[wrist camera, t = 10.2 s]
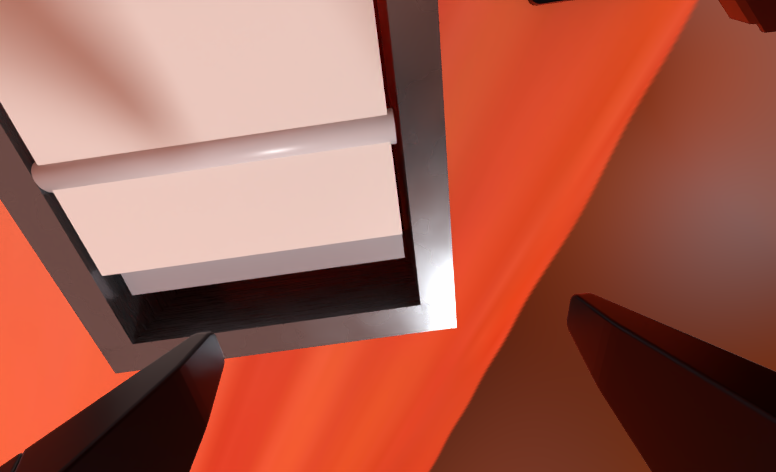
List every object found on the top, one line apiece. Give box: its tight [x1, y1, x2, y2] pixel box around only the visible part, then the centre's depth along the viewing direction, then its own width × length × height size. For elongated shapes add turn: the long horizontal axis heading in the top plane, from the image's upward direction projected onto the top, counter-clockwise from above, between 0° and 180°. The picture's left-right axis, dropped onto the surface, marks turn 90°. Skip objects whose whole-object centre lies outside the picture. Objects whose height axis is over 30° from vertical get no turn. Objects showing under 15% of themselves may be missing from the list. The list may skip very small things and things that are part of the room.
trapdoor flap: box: [0, 0, 405, 295], centre depth 12 cm, size 12×18×5 cm
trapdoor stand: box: [0, 0, 457, 373], centre depth 16 cm, size 16×15×8 cm
